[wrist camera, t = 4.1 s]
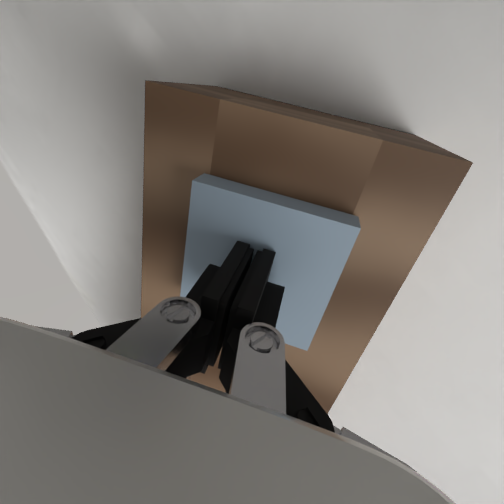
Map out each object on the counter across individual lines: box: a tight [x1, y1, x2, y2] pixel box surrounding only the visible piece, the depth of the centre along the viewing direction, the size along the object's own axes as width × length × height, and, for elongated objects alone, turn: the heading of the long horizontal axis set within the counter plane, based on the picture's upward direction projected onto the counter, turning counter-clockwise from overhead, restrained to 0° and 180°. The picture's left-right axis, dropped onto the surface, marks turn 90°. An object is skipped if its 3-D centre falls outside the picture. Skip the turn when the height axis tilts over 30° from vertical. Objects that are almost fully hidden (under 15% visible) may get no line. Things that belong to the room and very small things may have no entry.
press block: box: [141, 80, 472, 414], centre depth 21 cm, size 28×12×8 cm, turn 168°
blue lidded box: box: [180, 173, 361, 351], centre depth 16 cm, size 6×6×9 cm
